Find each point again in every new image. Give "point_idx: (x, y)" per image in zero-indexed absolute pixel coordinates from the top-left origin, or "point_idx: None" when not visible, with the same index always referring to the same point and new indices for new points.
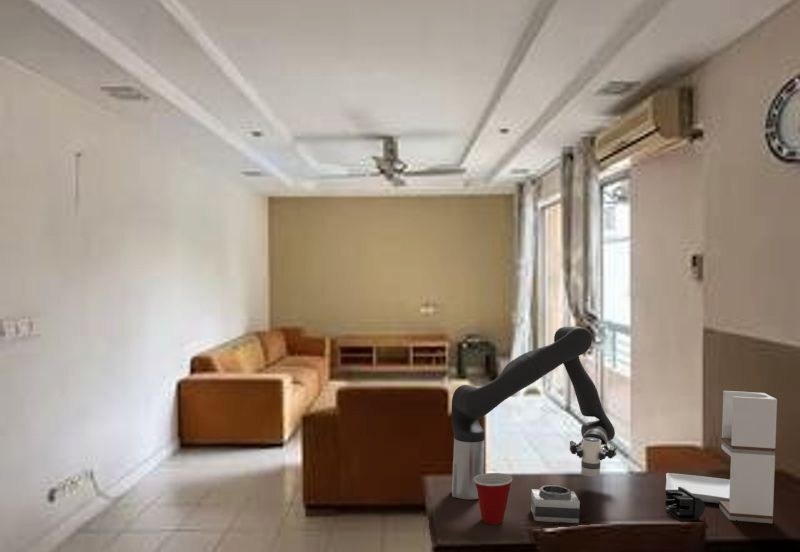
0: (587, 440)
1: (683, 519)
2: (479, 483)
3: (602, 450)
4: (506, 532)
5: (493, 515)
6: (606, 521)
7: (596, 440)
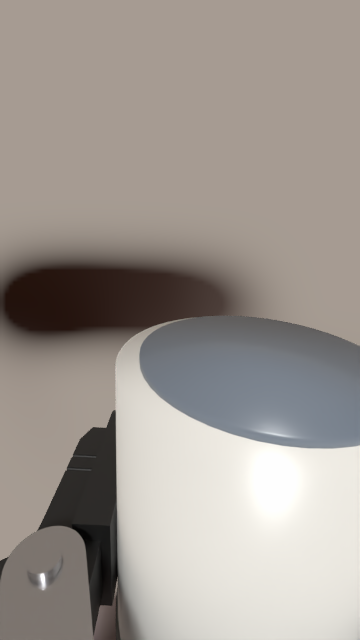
0: (288, 324)
1: None
2: None
3: (89, 502)
4: None
5: None
6: (100, 617)
7: (187, 332)
